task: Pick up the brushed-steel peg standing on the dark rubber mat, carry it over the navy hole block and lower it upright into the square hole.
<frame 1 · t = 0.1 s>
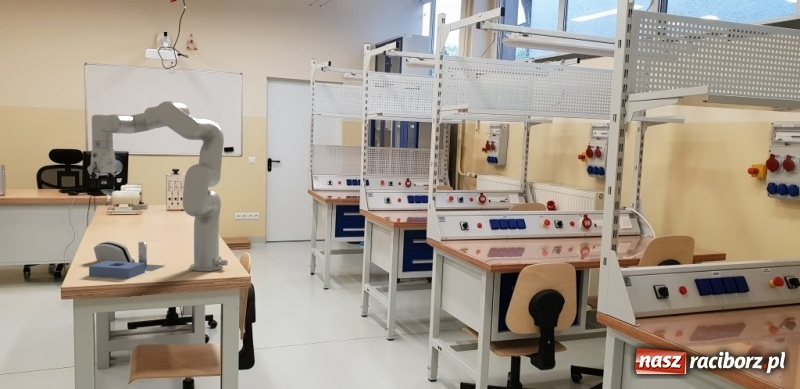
hand: (103, 187, 234), 31 cm above the table, tool pointing down, fingers open, 9 cm apart
peg: (142, 267, 228), resting on mat
mat: (142, 267, 228), on the table
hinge: (113, 263, 236), on the table
hole block: (117, 275, 215), on the table
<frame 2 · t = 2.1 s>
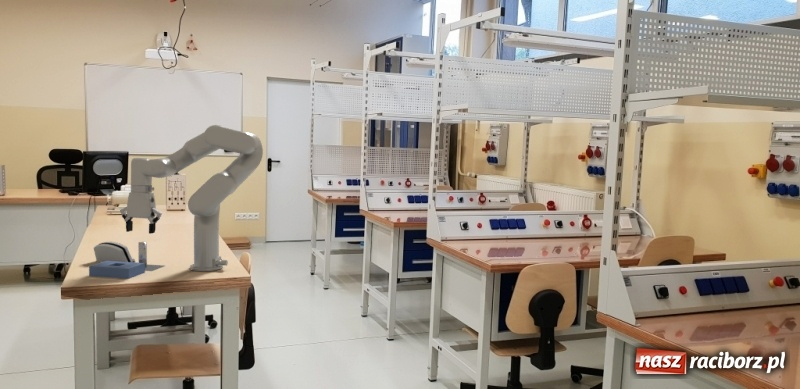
hand: (140, 232, 226), 14 cm above the table, tool pointing down, fingers open, 9 cm apart
nothing on the table moved.
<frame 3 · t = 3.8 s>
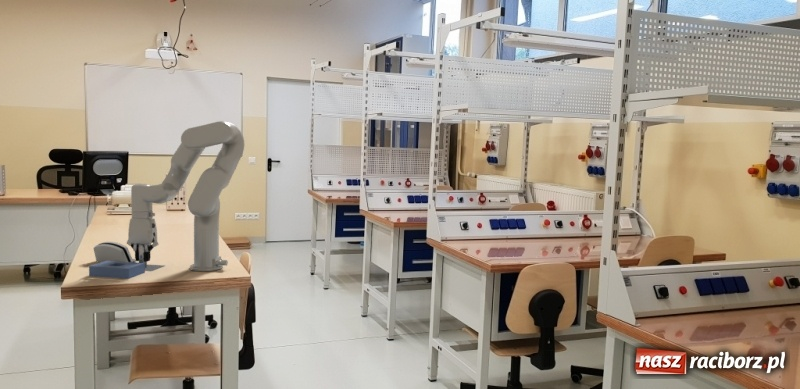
hand: (142, 260, 227), 3 cm above the table, tool pointing down, fingers closed on peg, 3 cm apart
peg: (142, 267, 228), resting on mat, touching gripper
everything else where it was.
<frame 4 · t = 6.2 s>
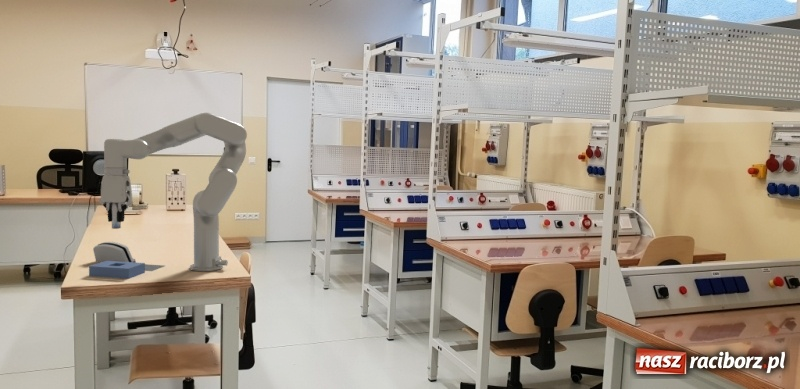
hand: (116, 221, 213), 21 cm above the table, tool pointing down, fingers closed on peg, 3 cm apart
peg: (116, 228, 213), point 18 cm above the table, touching gripper
everything else where it was.
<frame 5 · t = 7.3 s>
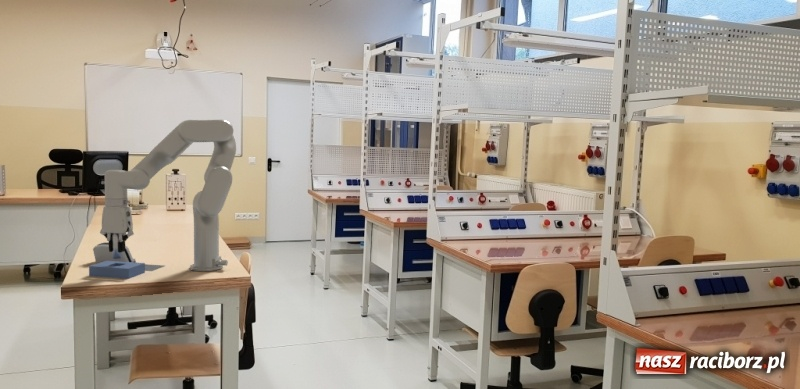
hand: (117, 251, 214), 9 cm above the table, tool pointing down, fingers closed on peg, 3 cm apart
peg: (117, 258, 214), point 6 cm above the table, touching gripper
everything else where it was.
when the fingers open (5 cm above the table, at t = 8.4 s): peg drops 2 cm, resting in hole block.
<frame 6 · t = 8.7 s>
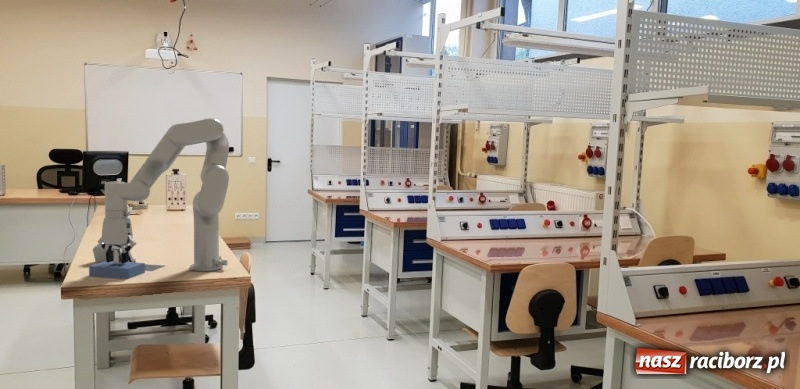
hand: (117, 261, 215), 5 cm above the table, tool pointing down, fingers open, 5 cm apart
peg: (117, 275, 215), resting in hole block
everything else where it was.
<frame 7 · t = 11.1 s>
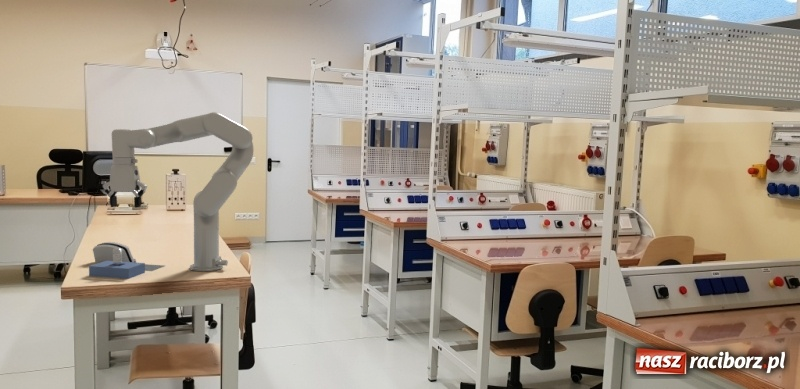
hand: (125, 206, 218), 25 cm above the table, tool pointing down, fingers open, 9 cm apart
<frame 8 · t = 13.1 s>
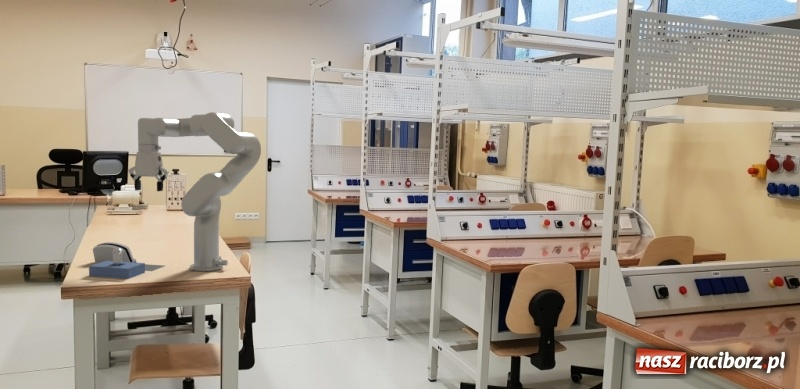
hand: (148, 190, 233), 30 cm above the table, tool pointing down, fingers open, 9 cm apart
at the end: peg 0.1 cm off-centre on the hole block, point 0.0 cm above the hole block's base; peg tilted 0°; the gripper is holding nothing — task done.
